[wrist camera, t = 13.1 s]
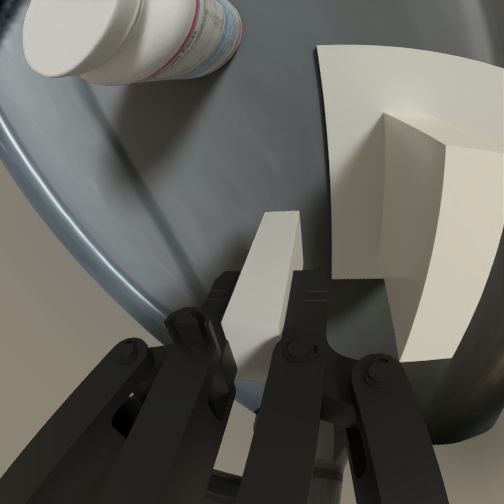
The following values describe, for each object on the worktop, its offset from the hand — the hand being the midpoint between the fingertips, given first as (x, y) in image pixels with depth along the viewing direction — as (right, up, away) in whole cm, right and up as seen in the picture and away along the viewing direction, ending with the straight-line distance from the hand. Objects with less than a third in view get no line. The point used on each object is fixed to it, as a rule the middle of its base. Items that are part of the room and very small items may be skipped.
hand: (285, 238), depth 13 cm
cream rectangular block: (+8, +3, +3) cm, 9 cm away
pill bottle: (-5, +13, +1) cm, 14 cm away
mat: (+10, +4, +2) cm, 11 cm away
